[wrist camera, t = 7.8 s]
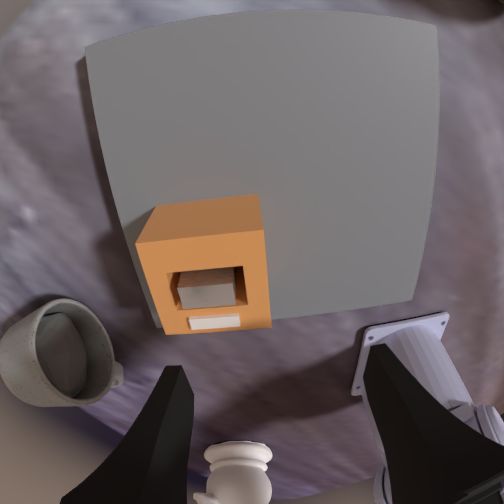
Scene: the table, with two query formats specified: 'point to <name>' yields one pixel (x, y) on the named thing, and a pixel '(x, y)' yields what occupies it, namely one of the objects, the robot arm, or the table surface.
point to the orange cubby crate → (207, 261)
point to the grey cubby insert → (207, 287)
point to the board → (282, 141)
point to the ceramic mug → (59, 356)
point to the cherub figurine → (237, 474)
